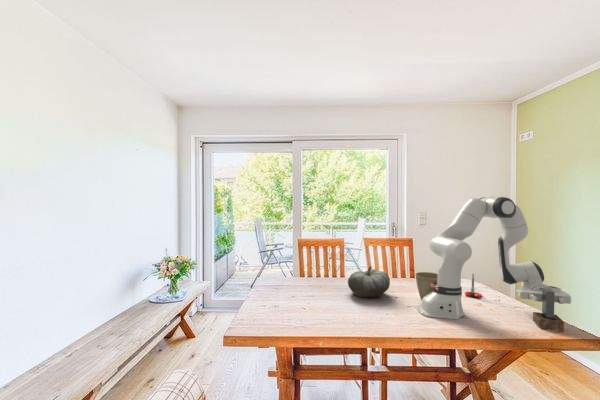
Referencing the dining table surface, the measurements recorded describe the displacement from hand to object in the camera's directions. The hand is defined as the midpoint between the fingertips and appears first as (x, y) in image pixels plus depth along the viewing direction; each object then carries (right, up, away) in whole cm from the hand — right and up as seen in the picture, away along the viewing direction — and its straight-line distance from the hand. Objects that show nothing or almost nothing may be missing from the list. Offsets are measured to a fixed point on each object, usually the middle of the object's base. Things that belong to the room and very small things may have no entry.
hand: (549, 300), depth 141 cm
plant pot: (-42, -12, +31) cm, 54 cm away
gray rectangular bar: (0, -11, +1) cm, 11 cm away
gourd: (-74, -11, +45) cm, 87 cm away
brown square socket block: (0, -12, +1) cm, 12 cm away
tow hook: (-10, -12, +45) cm, 47 cm away
